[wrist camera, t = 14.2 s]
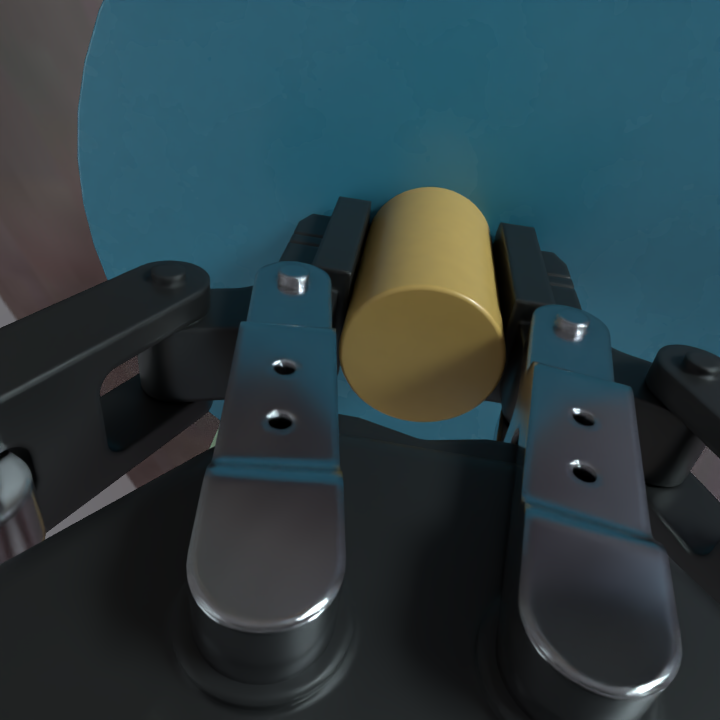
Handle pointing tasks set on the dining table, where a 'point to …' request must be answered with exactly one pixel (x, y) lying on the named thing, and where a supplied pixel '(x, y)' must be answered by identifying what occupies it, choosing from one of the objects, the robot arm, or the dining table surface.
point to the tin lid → (418, 168)
